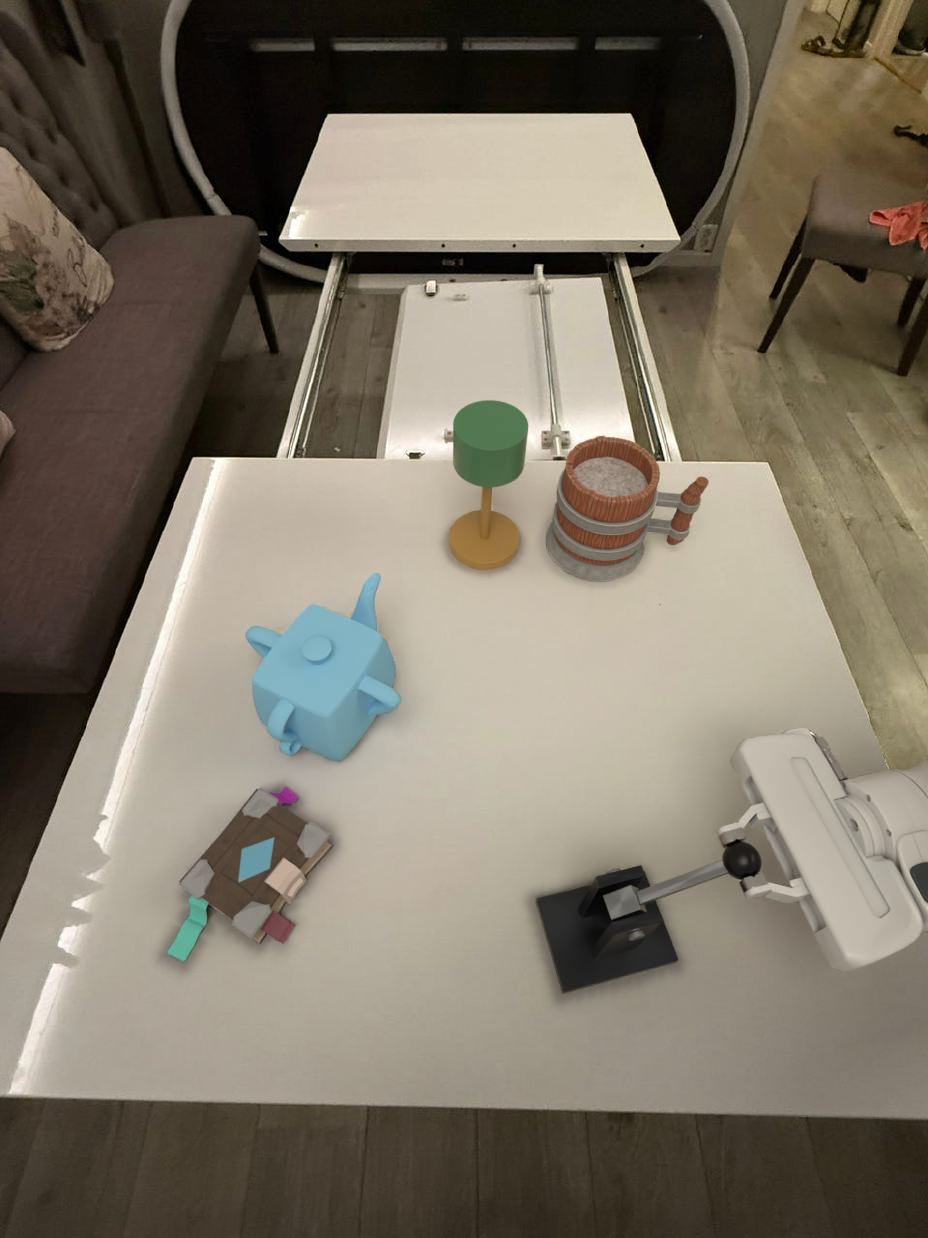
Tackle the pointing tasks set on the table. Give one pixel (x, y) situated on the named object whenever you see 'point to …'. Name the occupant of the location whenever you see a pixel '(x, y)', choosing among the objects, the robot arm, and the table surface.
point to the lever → (685, 881)
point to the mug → (613, 508)
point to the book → (253, 870)
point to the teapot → (324, 677)
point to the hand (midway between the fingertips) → (732, 863)
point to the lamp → (487, 480)
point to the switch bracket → (602, 933)
